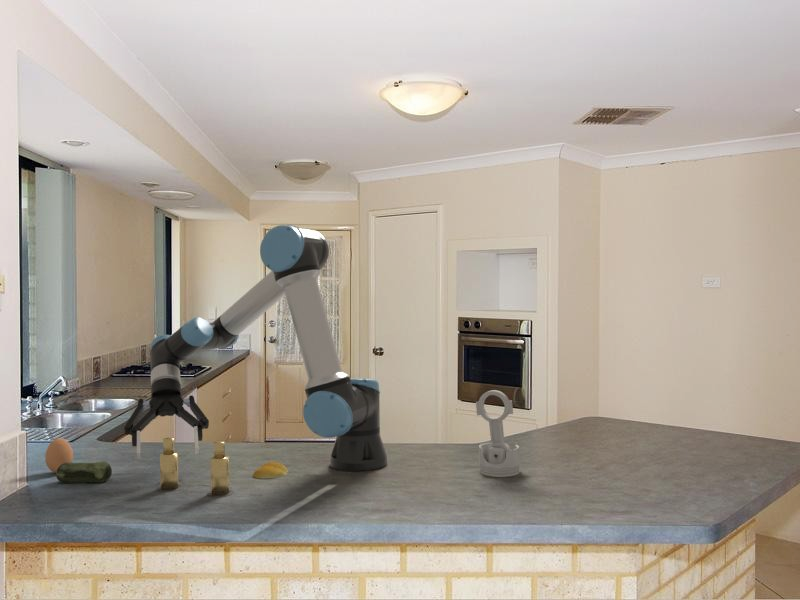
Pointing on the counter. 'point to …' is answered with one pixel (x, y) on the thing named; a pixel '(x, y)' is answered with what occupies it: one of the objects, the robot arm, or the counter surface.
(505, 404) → the engine component
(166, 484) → the brass bottle
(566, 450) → the counter surface
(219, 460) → the gold bottle
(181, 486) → the board
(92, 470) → the vegetable
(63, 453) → the egg
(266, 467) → the bread roll
